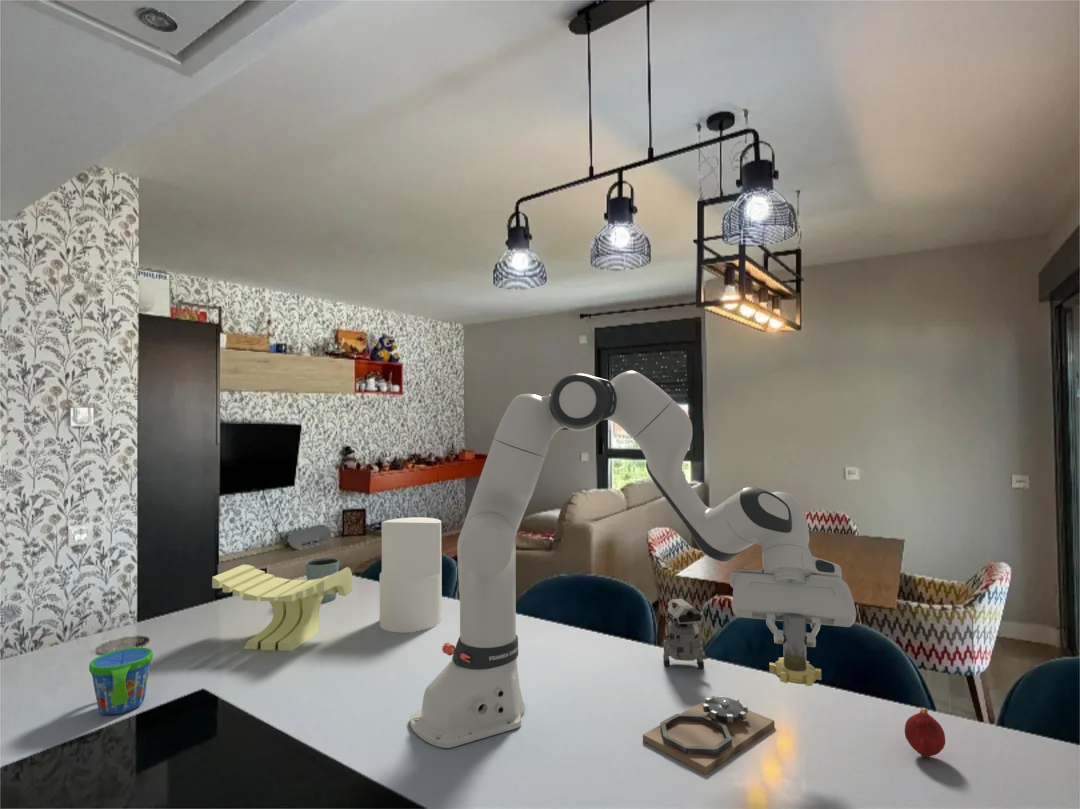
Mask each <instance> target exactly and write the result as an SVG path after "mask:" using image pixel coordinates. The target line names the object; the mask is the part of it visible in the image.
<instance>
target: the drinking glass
mask: <svg viewBox="0 0 1080 809" xmlns="http://www.w3.org/2000/svg"><path fill="white" fill-rule="evenodd" d="M339 568H340V559H338V558H331V557H322V558H314V559H311V560H308V561H306V562H305V574H306V581H308V580H313V579H319V578H321V579H322V578H324V577H326V576H329V575H332V574H334V573H336V572H338V571H339ZM336 599H337V593H336V594H325V595H323V599H322V602H321V604H324V603H329V602H332V601H334V600H336Z"/></svg>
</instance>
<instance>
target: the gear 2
mask: <svg viewBox="0 0 1080 809" xmlns="http://www.w3.org/2000/svg"><path fill="white" fill-rule="evenodd" d="M782 623H783V624H782V625H783V626H782V629H783V633H784V635H783V636H784V644H782V645H783V656H782V657H778V660H776V661H775V662H769V664H768V665H769V674H774V675H775V676H776V677H778V678H779V681H780V682H782V683H785V684H789V683H792V684H796V685H797V684H798V685H804V686H806V687H812V686H814V682H816V680H817V681H818V680H819V681H822V669H821V668H815V667H814V666H813V665H812V664H810V661H808V660H807V646H806V633H807V623H806V617H805V616H803V615H800V614H791V613H787V614H784V615H783V621H782Z"/></svg>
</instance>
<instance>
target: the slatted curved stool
mask: <svg viewBox="0 0 1080 809" xmlns="http://www.w3.org/2000/svg"><path fill="white" fill-rule="evenodd" d="M211 580H212V581H211V587H212V588H211V589H222V593H232V597H242V601H251V602H252V601H256V602H257V601H259V600H260V602H269V603H270V605H271V607H272V611H273V617H272V620H271V621H270V622H269V624H268V625H267V626H266V627H265V628H263V630H261V631H260V632H258V633H257V634H256V635H255V636H253V637H252V638H250V639H249V640H247V641H246V643H245V646H244V647H243V648H242V649H243V650H259V649H260V650H262V651H263V650H264V651H276V650H277V651H285V652H293V651H294V650H296V649H297V648H298V647H300V646H301V645H302V644H304V643H305V642H306V641H308V640H309V639H310V638H312V637H314V636H315V635H317V633H318V632H319V628H320V615H319V614H320V609H321V605H322V603H321V602H322V599H323V595H325V594H336V595H339V596H342V597H346V596H348V595H350V594H351V593H353V573H352V570H351V568H350V567H348V566H346V567H345V568H343V569H341V570H338V572H336V573H334V574H332V575H329V576H326V577H324V578H322V579H321V578H319V579H313V580H308V581H307V579H300V580H299V579H292V580H291V579H289V578H284V577H277V576H275V575H274V574H271V573H266V571H265V570H261V569H259V568H256V566H253V565H251V564H241V565H239V566H236V567H234V568H231V569H229V570H226V571H224V572H222V573H219V574H216V575H214V576H212V579H211ZM337 593H338V594H337Z"/></svg>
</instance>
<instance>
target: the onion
mask: <svg viewBox="0 0 1080 809" xmlns="http://www.w3.org/2000/svg"><path fill="white" fill-rule="evenodd" d="M904 734H905V735H904V736H905V739H906V741H907V742H908V744H909V746H910V747H911V748H912V749H913V750H914V751H915V752H917V753H918V754H919V755H921V756H922V757H924V758H930V757H933V756H936V755H938V754H939V753H941V751H942V750H943V749H944V748H945V746H946V745H945V744H946V735H945V731H944V729H943V727H942V725H941V724H940V723H939V722H938V721H937V719H935V718H934V717H933V716H932V715H930V714H929V713H928V709H927V708H925V707H922V708H920V711H919V712H918V713H916V714H913V715H911V716H910V717H909V718H907V720H906V722H905V725H904Z"/></svg>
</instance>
